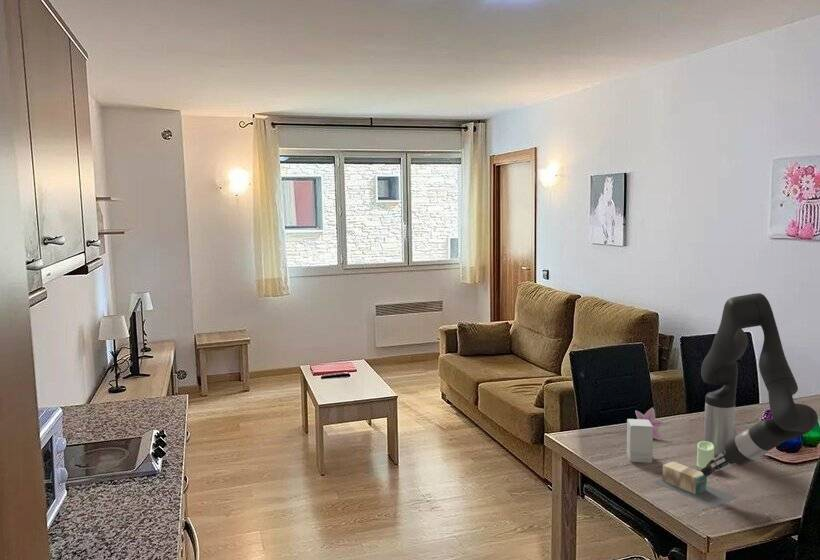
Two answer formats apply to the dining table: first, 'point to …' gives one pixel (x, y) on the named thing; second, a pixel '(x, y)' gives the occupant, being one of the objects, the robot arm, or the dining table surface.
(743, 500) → the dining table surface
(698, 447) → the candle
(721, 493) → the mat
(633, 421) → the supplement box
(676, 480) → the block
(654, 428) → the lily
